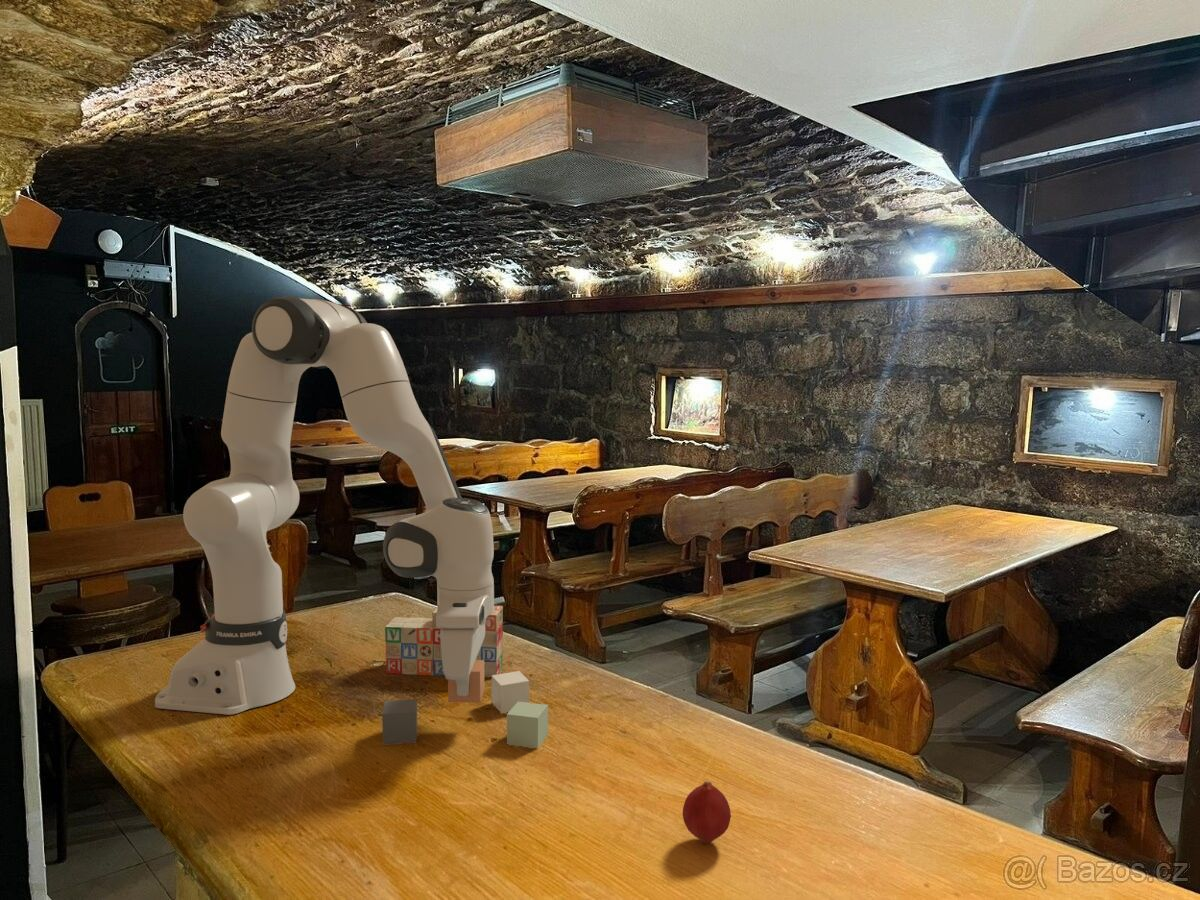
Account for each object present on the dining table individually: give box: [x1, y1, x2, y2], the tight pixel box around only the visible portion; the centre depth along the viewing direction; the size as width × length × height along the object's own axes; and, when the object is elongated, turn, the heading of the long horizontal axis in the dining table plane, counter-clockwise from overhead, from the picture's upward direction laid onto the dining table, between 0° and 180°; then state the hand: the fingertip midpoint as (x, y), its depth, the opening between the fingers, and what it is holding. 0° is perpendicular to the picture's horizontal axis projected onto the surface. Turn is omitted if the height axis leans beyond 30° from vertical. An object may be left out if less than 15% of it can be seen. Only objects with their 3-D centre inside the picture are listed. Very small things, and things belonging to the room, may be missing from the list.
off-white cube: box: [491, 670, 530, 714], centre depth 143 cm, size 5×5×5 cm
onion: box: [682, 780, 732, 845], centre depth 102 cm, size 6×6×8 cm
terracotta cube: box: [447, 660, 485, 703], centre depth 133 cm, size 5×5×5 cm
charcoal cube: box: [381, 698, 418, 746], centre depth 131 cm, size 5×5×5 cm
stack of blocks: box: [384, 605, 504, 678], centre depth 159 cm, size 21×6×12 cm, turn 86°
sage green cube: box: [506, 702, 549, 749], centre depth 130 cm, size 5×5×5 cm
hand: (466, 686), depth 133 cm, fingers closed on terracotta cube, 5 cm apart
